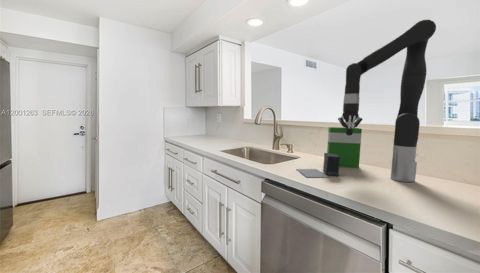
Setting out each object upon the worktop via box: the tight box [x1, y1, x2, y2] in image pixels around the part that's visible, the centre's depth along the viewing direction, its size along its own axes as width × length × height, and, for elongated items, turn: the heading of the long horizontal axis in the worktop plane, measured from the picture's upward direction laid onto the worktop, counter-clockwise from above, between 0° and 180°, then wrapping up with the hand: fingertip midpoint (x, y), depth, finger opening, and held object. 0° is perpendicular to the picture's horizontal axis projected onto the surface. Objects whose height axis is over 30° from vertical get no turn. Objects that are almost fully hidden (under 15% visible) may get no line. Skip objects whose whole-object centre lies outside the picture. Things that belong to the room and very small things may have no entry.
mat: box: [296, 168, 331, 179], centre depth 121 cm, size 12×16×1 cm
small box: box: [322, 152, 340, 177], centre depth 121 cm, size 11×6×10 cm, turn 168°
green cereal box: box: [326, 126, 363, 169], centre depth 140 cm, size 18×7×24 cm, turn 76°
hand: (349, 135), depth 120 cm, fingers closed
